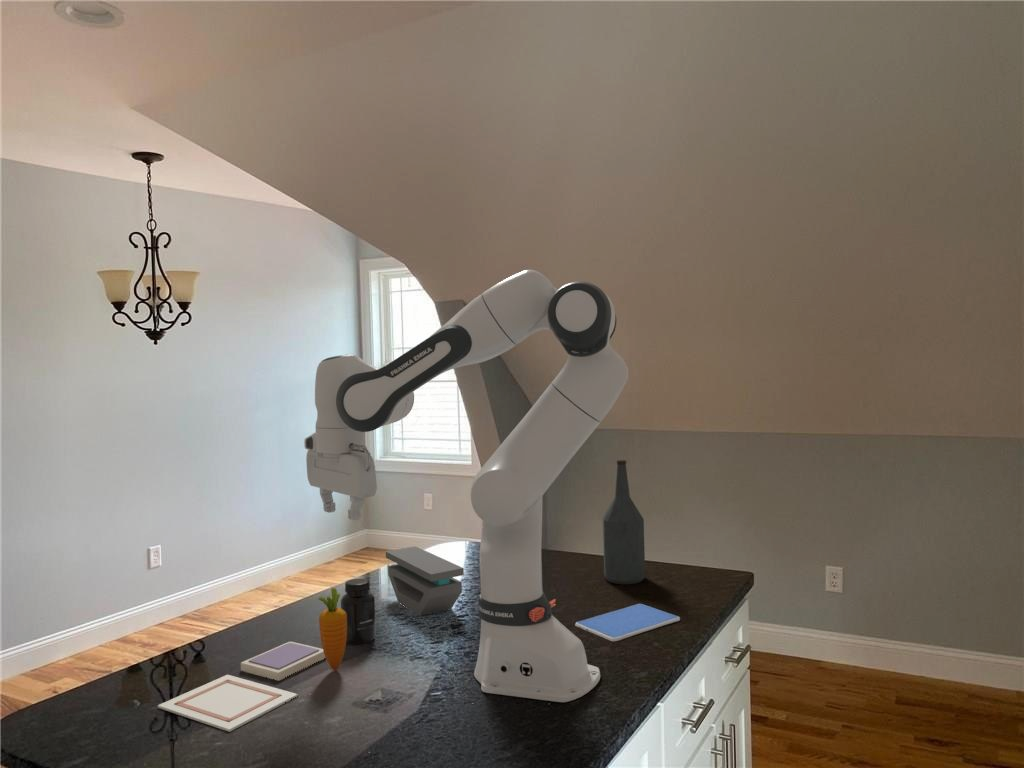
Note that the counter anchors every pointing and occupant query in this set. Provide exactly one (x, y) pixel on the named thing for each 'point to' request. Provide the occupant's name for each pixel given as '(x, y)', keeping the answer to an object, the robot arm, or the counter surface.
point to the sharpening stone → (424, 580)
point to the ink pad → (283, 660)
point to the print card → (227, 702)
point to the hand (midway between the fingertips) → (341, 515)
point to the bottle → (623, 535)
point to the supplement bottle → (359, 612)
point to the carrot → (333, 630)
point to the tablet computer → (627, 622)
